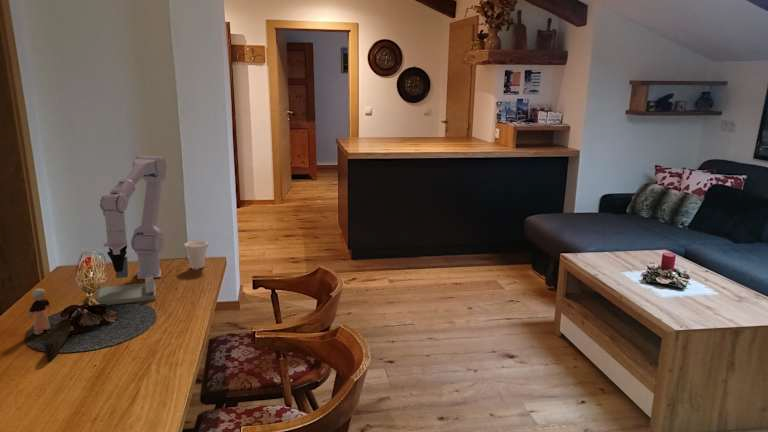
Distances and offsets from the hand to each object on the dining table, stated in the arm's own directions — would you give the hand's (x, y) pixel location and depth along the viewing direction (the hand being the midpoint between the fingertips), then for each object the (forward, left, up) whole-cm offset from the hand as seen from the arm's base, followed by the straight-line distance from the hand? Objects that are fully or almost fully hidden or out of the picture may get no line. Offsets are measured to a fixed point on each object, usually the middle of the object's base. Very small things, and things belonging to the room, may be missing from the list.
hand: (119, 269), depth 185 cm
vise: (+3, +1, -9) cm, 9 cm away
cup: (-20, +26, -9) cm, 34 cm away
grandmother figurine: (+24, -19, -9) cm, 32 cm away
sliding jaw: (+3, +9, -7) cm, 12 cm away
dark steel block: (0, +1, -2) cm, 2 cm away
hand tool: (+36, -13, -9) cm, 39 cm away
